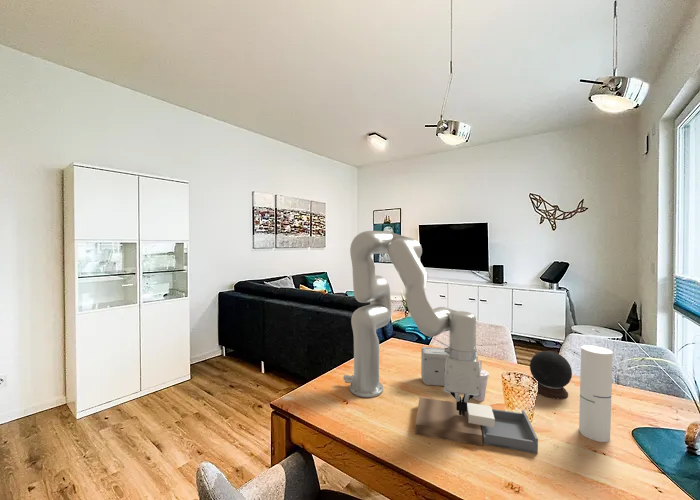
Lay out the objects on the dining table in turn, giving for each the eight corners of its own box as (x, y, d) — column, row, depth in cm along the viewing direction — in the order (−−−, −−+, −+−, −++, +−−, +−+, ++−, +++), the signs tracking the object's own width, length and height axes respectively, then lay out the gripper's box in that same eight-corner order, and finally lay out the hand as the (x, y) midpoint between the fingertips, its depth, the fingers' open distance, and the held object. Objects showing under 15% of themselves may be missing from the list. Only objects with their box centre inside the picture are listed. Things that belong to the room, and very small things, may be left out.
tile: (468, 422, 90) (468, 414, 90) (466, 410, 97) (466, 402, 97) (494, 427, 88) (494, 419, 88) (490, 414, 95) (491, 406, 95)
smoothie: (490, 404, 106) (491, 364, 106) (470, 402, 107) (471, 362, 107) (486, 394, 112) (486, 357, 112) (467, 393, 114) (468, 355, 113)
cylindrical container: (612, 445, 85) (615, 355, 84) (580, 436, 89) (582, 350, 88) (607, 431, 91) (610, 348, 90) (577, 423, 95) (579, 343, 94)
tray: (483, 444, 85) (484, 430, 85) (478, 416, 99) (478, 403, 99) (537, 453, 82) (538, 439, 81) (523, 423, 95) (524, 410, 95)
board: (415, 434, 90) (415, 424, 90) (419, 405, 105) (419, 397, 105) (482, 446, 85) (482, 435, 84) (476, 414, 100) (476, 405, 100)
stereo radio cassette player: (474, 381, 124) (475, 331, 123) (479, 391, 115) (480, 338, 115) (421, 377, 127) (421, 329, 127) (422, 386, 119) (422, 335, 118)
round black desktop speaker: (565, 405, 106) (566, 361, 105) (523, 390, 116) (524, 351, 115) (575, 392, 114) (576, 352, 114) (536, 380, 124) (537, 343, 124)
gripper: (436, 355, 91) (435, 415, 92) (491, 360, 87) (490, 424, 88) (436, 346, 99) (436, 403, 99) (487, 351, 94) (486, 410, 95)
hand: (461, 412), depth 93 cm, fingers closed
